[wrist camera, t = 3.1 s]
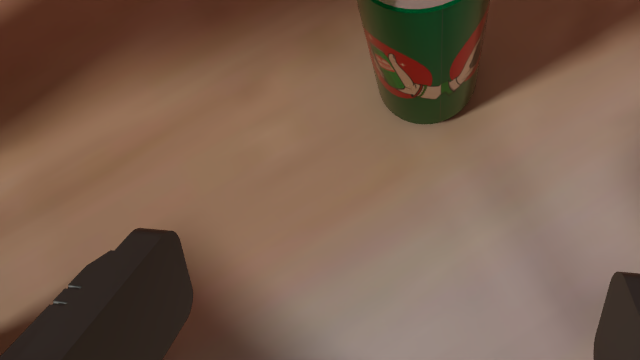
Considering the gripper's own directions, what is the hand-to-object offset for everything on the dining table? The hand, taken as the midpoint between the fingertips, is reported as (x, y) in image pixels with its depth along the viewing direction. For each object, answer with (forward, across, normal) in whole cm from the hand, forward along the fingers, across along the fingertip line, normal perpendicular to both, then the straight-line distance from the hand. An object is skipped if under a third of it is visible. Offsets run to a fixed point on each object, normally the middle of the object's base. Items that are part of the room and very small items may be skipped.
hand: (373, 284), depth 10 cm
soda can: (+20, 0, +3) cm, 20 cm away
